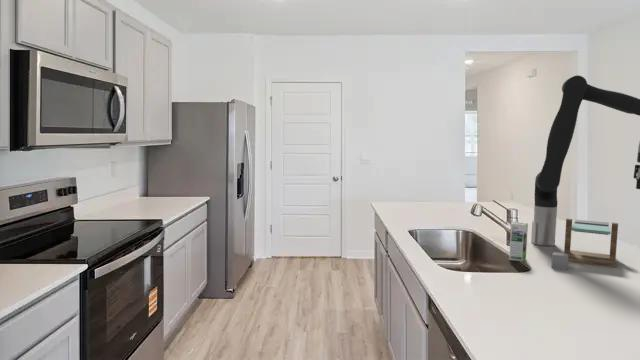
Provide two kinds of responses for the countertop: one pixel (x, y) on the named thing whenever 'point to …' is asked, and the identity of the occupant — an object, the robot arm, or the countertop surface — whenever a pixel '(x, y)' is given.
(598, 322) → the countertop surface
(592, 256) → the frame
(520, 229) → the syrup box
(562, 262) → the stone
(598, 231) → the trapdoor
